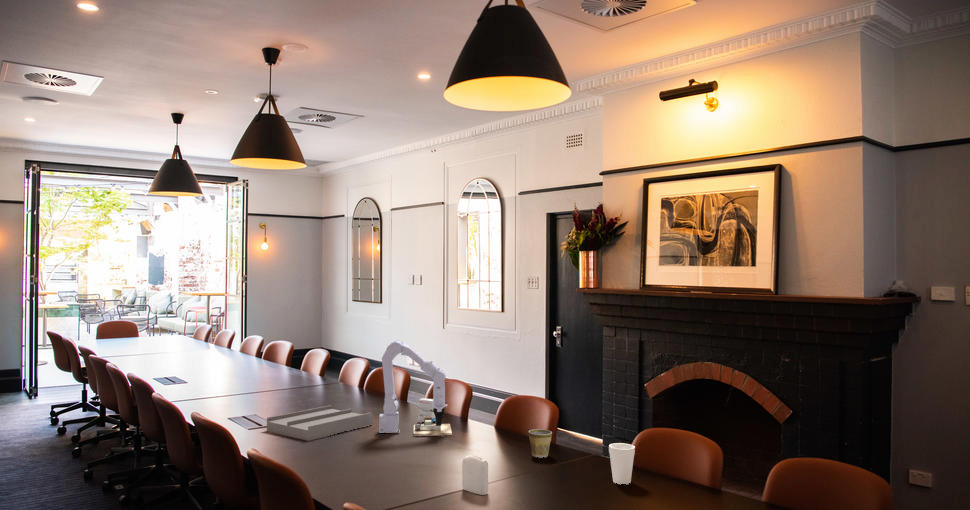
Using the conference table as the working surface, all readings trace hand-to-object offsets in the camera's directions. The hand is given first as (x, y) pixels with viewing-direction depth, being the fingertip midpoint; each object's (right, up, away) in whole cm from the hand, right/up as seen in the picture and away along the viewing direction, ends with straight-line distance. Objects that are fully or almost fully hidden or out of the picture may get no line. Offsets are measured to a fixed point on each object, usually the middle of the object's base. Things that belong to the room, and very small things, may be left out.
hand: (438, 424), depth 312 cm
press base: (-3, -4, +2) cm, 6 cm away
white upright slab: (+19, -1, -87) cm, 89 cm away
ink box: (-8, -6, +24) cm, 26 cm away
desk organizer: (-59, -5, +8) cm, 60 cm away
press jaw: (-5, -3, +3) cm, 7 cm away
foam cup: (+73, -2, -74) cm, 104 cm away
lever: (-5, -3, -1) cm, 6 cm away
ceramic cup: (+46, -3, -38) cm, 60 cm away
